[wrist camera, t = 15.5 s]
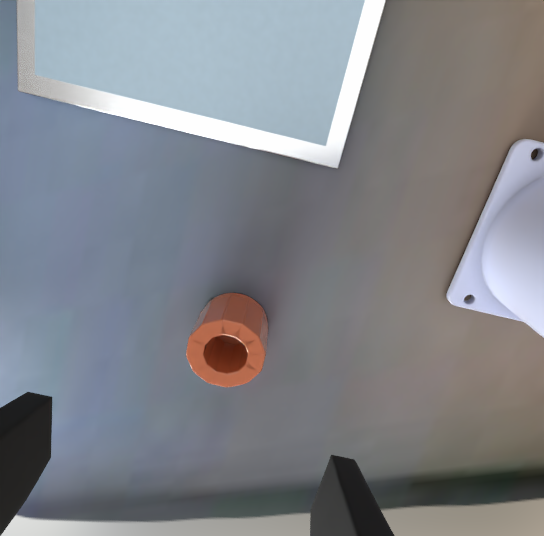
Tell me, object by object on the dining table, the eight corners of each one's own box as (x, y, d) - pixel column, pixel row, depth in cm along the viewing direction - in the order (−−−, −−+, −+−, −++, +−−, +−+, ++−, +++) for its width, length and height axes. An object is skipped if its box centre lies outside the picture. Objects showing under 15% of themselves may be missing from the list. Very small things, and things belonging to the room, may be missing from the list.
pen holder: (274, 301, 19) (272, 330, 17) (259, 358, 21) (255, 394, 18) (206, 285, 19) (192, 312, 16) (196, 344, 21) (181, 378, 18)
